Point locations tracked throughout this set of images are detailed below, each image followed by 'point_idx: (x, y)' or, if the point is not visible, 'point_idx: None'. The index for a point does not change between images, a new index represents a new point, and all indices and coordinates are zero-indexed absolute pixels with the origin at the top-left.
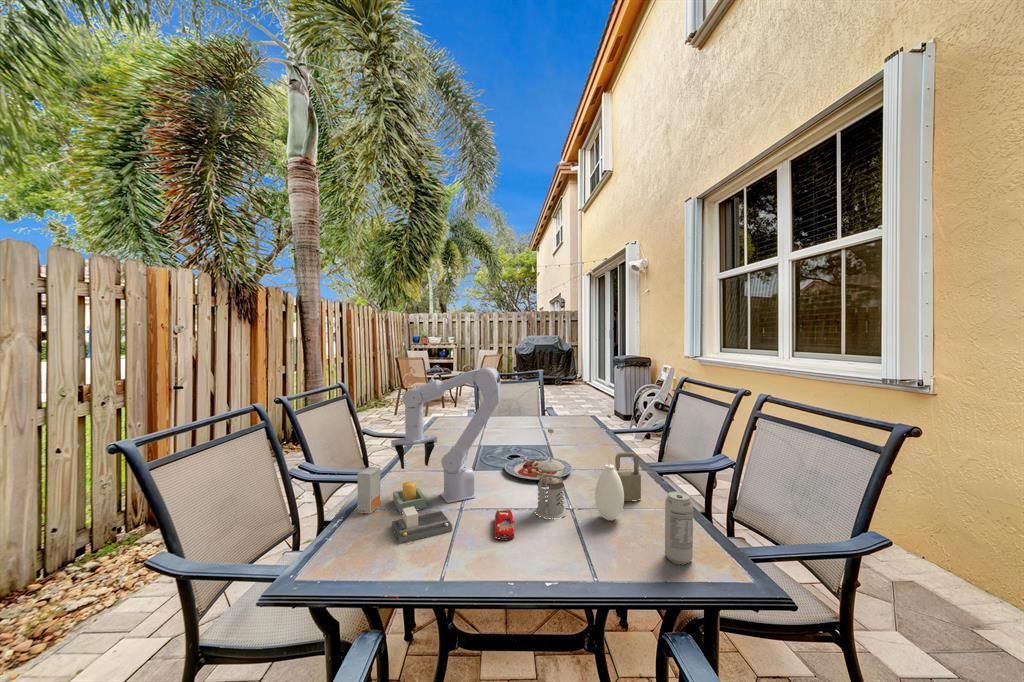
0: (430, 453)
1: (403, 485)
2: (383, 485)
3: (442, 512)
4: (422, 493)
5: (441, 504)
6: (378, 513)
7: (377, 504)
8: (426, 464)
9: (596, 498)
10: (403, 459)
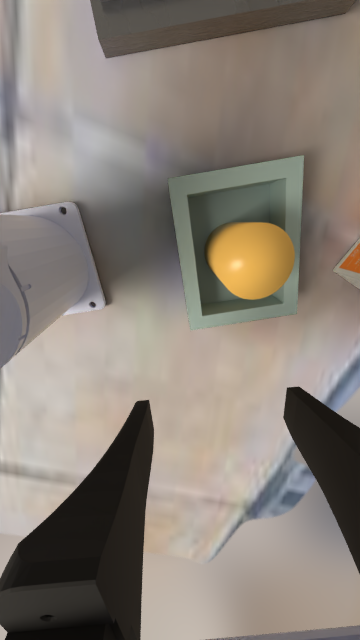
0: (93, 473)
1: (293, 249)
2: (282, 427)
3: (91, 3)
4: (179, 255)
5: (102, 205)
6: (355, 202)
7: (358, 252)
8: (144, 405)
9: None
10: (335, 430)
